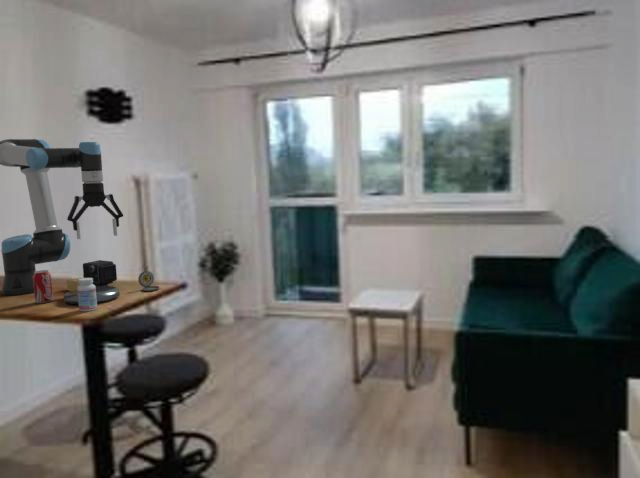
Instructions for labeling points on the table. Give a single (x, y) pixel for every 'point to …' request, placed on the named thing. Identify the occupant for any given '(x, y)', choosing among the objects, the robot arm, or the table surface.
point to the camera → (100, 272)
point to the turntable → (101, 292)
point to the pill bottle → (87, 295)
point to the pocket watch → (147, 280)
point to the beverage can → (42, 286)
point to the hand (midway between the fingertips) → (97, 237)
